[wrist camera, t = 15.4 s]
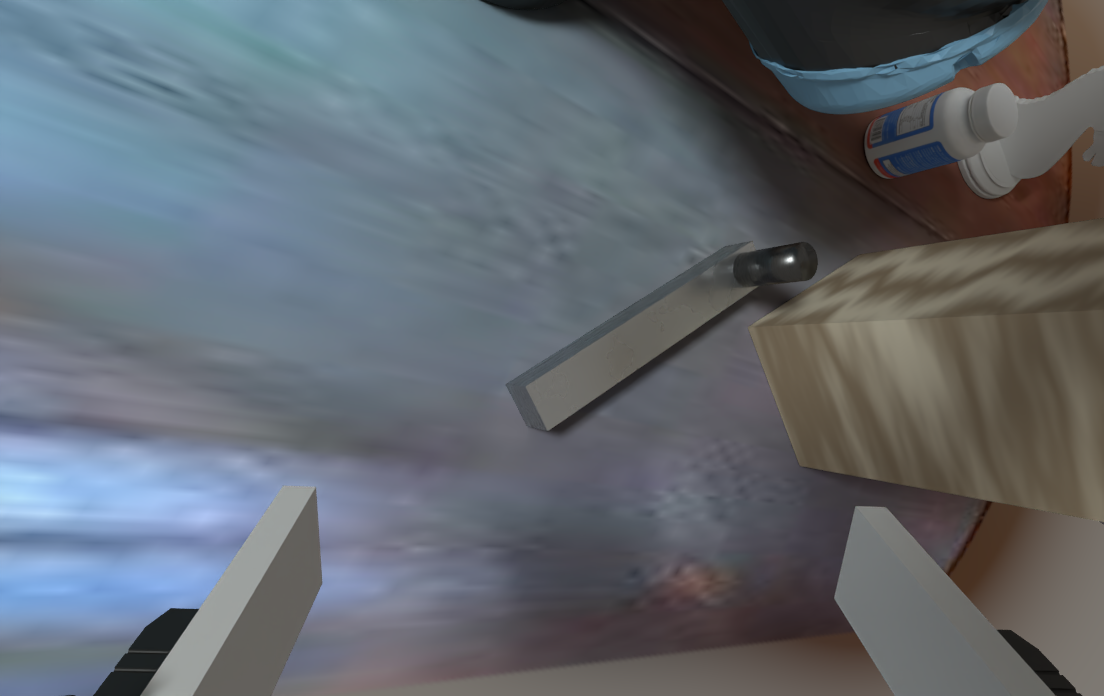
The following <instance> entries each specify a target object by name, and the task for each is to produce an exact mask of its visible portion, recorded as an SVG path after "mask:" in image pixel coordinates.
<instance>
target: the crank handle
mask: <svg viewBox="0 0 1104 696" xmlns="http://www.w3.org/2000/svg"><path fill="white" fill-rule="evenodd" d="M817 265H818V260H817V255H816V252H815V250H814V249H813V247H812V246H811V245H810V244H808V243H806V242H801V243H795V244H789V245H784V246H778V247H772V248H767V249H761V250H756V249H755V247H754V244H753V241H750V242H745V243H740V244H735V245H729V246H725V247H723V248H721V249H720V250H718V251H717V252H715V253H713V254H712V255H710V256H709V257H707V258H705V259H704V260H702V261H701V262H699V263H698V264H696V265H694V266H693V267H691V268H690V269H688V270H686V271H685V272H683V273H682V274H680V275H678V276H677V277H675V278H674V279H672V280H670V281H669V282H667V283H666V284H664V285H663V286H661V287H659V288H658V289H656V290H655V291H653V292H651V293H650V294H648V295H647V296H645V297H643V298H642V299H640V300H639V301H637V302H635V303H634V304H632V305H631V306H629V307H628V308H626V309H624V310H623V311H621V312H620V313H618V314H616V315H615V316H613V317H612V318H610V319H608V320H607V321H605V322H604V323H602V324H601V325H599V326H597V327H596V328H594V329H593V330H591V331H589V332H588V333H586V334H585V335H583V336H581V337H580V338H578V339H577V340H575V341H573V342H572V343H570V344H569V345H567V346H566V347H564V348H562V349H561V350H559V351H558V352H556V353H554V354H553V355H551V356H550V357H548V358H546V359H545V360H543V361H542V362H540V363H538V364H537V365H535V366H534V367H532V368H531V369H529V370H527V371H526V372H524V373H523V374H521V375H519V376H518V377H516V378H515V379H513V380H511V381H510V382H508V383H507V384H505V385H506V387H507V388H508V390H509V392H510V394H511V396H512V398H513V400H514V402H515V404H516V406H517V408H518V410H519V412H520V414H521V416H522V418H523V420H524V422H525V424H526V425H527V426H528V427H532V428H536V429H541V430H545V431H549V430H550V429H552V428H553V427H555V426H556V425H557V424H559V423H560V422H562V421H563V420H565V419H566V418H568V417H569V416H571V415H572V414H573V413H575V412H576V411H578V410H579V409H581V408H582V407H584V406H585V405H587V404H588V403H589V402H591V401H592V400H594V399H595V398H597V397H598V396H600V395H601V394H602V393H604V392H605V391H607V390H608V389H610V388H611V387H613V386H614V385H616V384H617V383H618V382H620V381H621V380H623V379H624V378H626V377H627V376H629V375H630V374H632V373H633V372H634V371H636V370H637V369H639V368H640V367H642V366H643V365H645V364H646V363H648V362H649V361H650V360H652V359H653V358H655V357H656V356H658V355H659V354H661V353H662V352H664V351H665V350H666V349H668V348H669V347H671V346H672V345H674V344H675V343H677V342H678V341H680V340H681V339H682V338H684V337H685V336H687V335H688V334H690V333H691V332H693V331H694V330H695V329H697V328H698V327H700V326H701V325H703V324H704V323H706V322H707V321H709V320H710V319H711V318H713V317H714V316H716V315H717V314H719V313H720V312H722V311H723V310H725V309H726V308H727V307H729V306H730V305H732V304H733V303H735V302H736V301H738V300H739V299H741V298H742V297H743V296H745V295H746V294H748V293H749V292H751V291H752V290H754V289H755V288H757V287H758V286H763V285H772V284H780V283H789V282H798V281H806V280H809V279H811V278H812V277H813V276H814V275H815V273H816V270H817Z"/></svg>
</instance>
